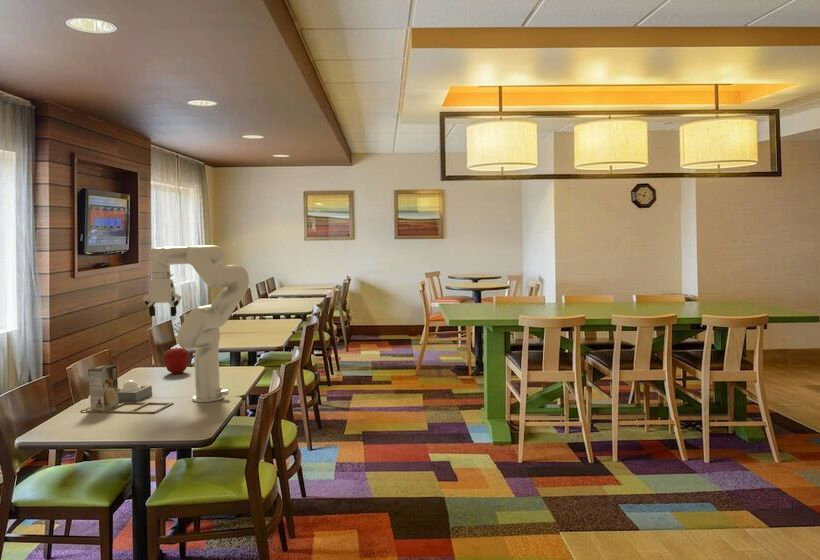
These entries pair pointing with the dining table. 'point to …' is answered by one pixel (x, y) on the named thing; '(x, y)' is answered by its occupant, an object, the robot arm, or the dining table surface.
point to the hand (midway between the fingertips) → (163, 316)
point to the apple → (176, 360)
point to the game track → (131, 410)
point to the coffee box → (103, 387)
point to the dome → (130, 386)
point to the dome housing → (135, 394)
